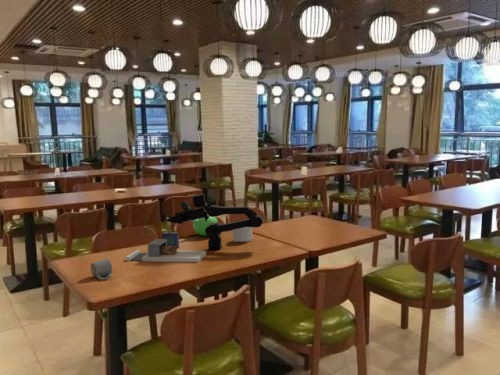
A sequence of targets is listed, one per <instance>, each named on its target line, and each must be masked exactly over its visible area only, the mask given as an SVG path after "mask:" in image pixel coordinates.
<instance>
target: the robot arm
mask: <svg viewBox="0 0 500 375" xmlns="http://www.w3.org/2000/svg"><path fill="white" fill-rule="evenodd" d="M205 197H206V196H205V194H204V193H202V194H195V195H191V199H192V203H193V207H195V208H191V206H190V204H189V203H188V201H187V200H184V201H181V203H179V205H180V207H181V209H182V210H183V211H178V212H175V214H174V215H173V216H171V217H170V218H167V219H166V222H168V223H173V224H177V225H181V224H184V222H190V221H191V220H196V219H201V218H205V221H207V220H208V218H209V216H210V217H219V216H222V215H245V216H246V217H247V219H246V218H245V219H242V220H237V221H230V222H227V223H219V221H218V222H215V223H211V224H210V225H208V226H207V228H206V229H205V233H206V235H207V236H206V237H208V241H207V246H208V248H207V249H208V250H209V251H220V250H221V249H222V248H223V246H222V237H221V234H222V233H223V232H227V231H233V229H239V228H244V227H252V228H260V227H262V225H263V222H264V218H263V216H262V215H260V214H257V213H256V212H255V210H252V209H251V208H250V207H249V206H247V205H245V206H222V205H218V204H210V203H208V202H206V198H205ZM208 215H209V216H208ZM191 222H192V221H191Z"/></svg>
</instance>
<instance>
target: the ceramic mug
mask: <svg viewBox="0 0 500 375" xmlns="http://www.w3.org/2000/svg"><path fill="white" fill-rule="evenodd" d="M112 266H113V265H112V262H111V260H110V259H109V258H108V257H107V258H104V259H100V260H97V261H94V262H92V263H91V264H90V272H91V275H92V277H93V278H98V279H99V280H101V281H107V280H109V279H110V278H111V275H112V274H113V267H112Z"/></svg>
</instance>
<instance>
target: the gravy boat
mask: <svg viewBox="0 0 500 375" xmlns="http://www.w3.org/2000/svg"><path fill="white" fill-rule="evenodd" d="M208 216H209V215H208ZM191 222H192V227H193V230H194V231H195V232H196V234H198V235H199V236H203V237H204V236H205V237H208V236H207V235H206V233H205V229H206V228H207V226H208V225H210V224H211V223H215V222H218V223H219V221H218V218H217V216H215V217H210V216H209V218H208V220H207V221H205V218H201V219H196V220H191Z"/></svg>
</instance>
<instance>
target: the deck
mask: <svg viewBox="0 0 500 375" xmlns="http://www.w3.org/2000/svg"><path fill="white" fill-rule="evenodd" d="M206 255H207V251H206V250H177V253H176V254H175V255H161V256H160V257H149V255H148V252H141V249H136V250H134V251H133V252H130V253H129V254H128V255H126V256H125V261H126V262H128V261H129V262H166V263H167V262H168V263H170V262H171V263H199V262H201V261H202V259H204V258H205V256H206Z"/></svg>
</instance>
